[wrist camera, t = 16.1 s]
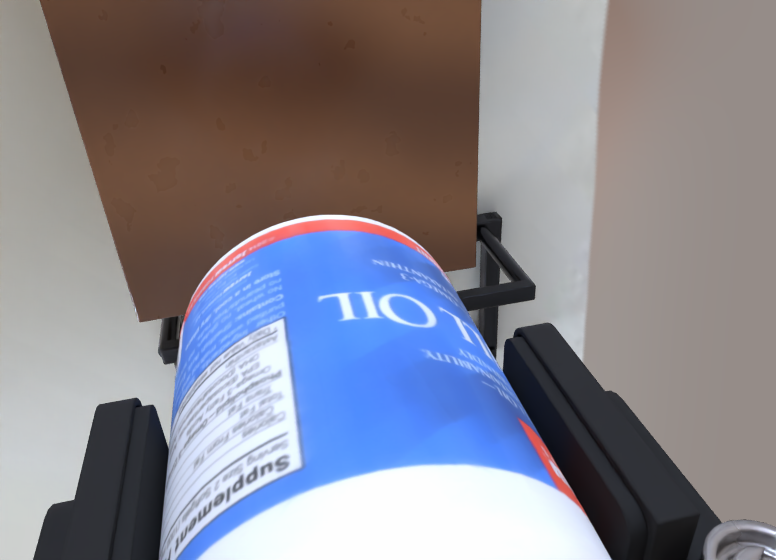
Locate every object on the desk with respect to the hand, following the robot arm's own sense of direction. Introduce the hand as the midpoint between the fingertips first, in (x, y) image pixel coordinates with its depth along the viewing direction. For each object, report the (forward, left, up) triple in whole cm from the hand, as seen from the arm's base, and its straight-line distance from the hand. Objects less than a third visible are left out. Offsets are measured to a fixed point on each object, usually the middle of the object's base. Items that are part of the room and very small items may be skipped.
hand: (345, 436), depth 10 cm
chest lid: (+3, -1, -12) cm, 12 cm away
